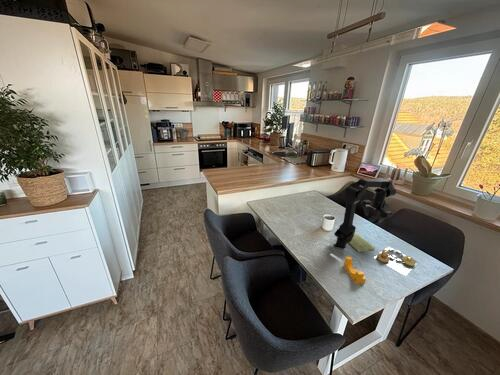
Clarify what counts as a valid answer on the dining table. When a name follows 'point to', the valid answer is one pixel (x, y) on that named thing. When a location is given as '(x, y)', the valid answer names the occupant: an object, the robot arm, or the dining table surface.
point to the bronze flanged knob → (383, 256)
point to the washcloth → (360, 244)
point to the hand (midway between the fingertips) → (372, 219)
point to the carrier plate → (399, 261)
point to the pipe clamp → (354, 271)
